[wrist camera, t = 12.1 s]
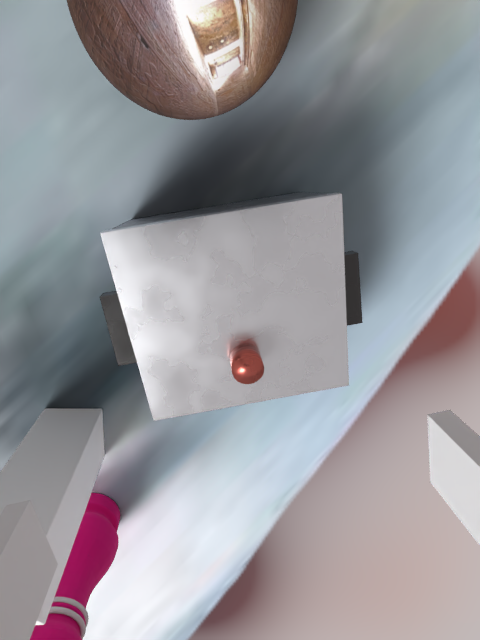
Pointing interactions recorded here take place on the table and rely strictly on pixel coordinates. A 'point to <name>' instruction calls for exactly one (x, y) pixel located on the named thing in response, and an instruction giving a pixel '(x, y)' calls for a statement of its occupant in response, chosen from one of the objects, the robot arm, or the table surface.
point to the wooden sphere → (185, 50)
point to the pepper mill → (82, 571)
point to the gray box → (111, 299)
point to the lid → (235, 303)
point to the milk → (56, 478)
